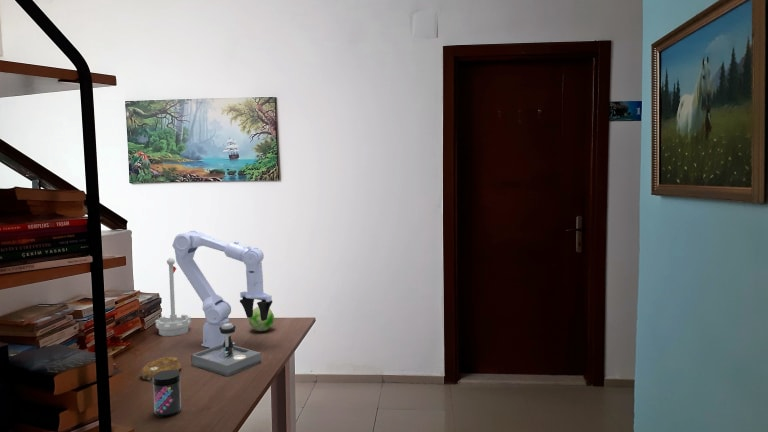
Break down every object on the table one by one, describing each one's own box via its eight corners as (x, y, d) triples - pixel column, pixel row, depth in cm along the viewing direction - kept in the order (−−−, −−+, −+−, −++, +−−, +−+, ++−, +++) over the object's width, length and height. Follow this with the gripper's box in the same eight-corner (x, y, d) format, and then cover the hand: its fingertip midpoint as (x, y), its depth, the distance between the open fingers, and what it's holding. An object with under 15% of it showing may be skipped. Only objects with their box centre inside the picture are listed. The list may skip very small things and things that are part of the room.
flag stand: (183, 337, 205) (180, 260, 202) (150, 337, 205) (146, 260, 202) (196, 326, 218) (193, 255, 215) (164, 327, 218) (161, 255, 215)
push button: (233, 357, 175) (232, 327, 174) (217, 357, 174) (216, 328, 174) (238, 350, 181) (237, 322, 181) (222, 350, 181) (221, 322, 180)
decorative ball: (250, 327, 216) (250, 303, 215) (275, 326, 217) (275, 303, 216) (247, 335, 206) (246, 310, 206) (273, 334, 208) (272, 309, 207)
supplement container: (150, 411, 141) (148, 374, 140) (176, 404, 146) (174, 367, 145) (159, 420, 136) (157, 381, 135) (185, 412, 141) (183, 375, 140)
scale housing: (191, 365, 175) (190, 353, 175) (225, 352, 187) (224, 342, 186) (227, 376, 165) (227, 364, 165) (260, 362, 177) (260, 351, 176)
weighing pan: (195, 359, 175) (195, 357, 175) (224, 349, 185) (224, 346, 185) (219, 366, 169) (219, 364, 169) (248, 355, 179) (248, 353, 178)
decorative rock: (148, 367, 175) (138, 387, 161) (147, 355, 175) (136, 374, 160) (184, 362, 178) (177, 381, 163) (183, 351, 177) (176, 368, 162)
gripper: (232, 282, 192) (235, 318, 193) (260, 286, 184) (262, 324, 185) (247, 278, 198) (249, 314, 199) (275, 282, 189) (277, 319, 190)
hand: (256, 318), depth 192 cm, fingers open, 7 cm apart
